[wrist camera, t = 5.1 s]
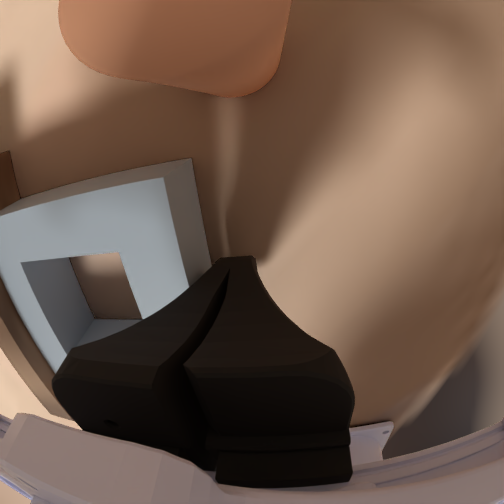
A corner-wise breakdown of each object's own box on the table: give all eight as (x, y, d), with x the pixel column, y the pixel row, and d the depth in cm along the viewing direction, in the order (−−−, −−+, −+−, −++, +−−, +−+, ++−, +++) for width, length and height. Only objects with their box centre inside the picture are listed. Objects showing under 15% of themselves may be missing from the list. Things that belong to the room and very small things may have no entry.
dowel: (286, 92, 9) (317, 56, 3) (191, 104, 9) (65, 110, 3) (274, 8, 8) (276, -120, 1) (180, 23, 8) (63, -60, 2)
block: (230, 349, 14) (222, 398, 11) (82, 344, 15) (60, 380, 12) (191, 157, 10) (163, 177, 7) (21, 198, 11) (-20, 222, 8)
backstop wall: (97, 373, 16) (73, 420, 13) (75, 369, 16) (50, 414, 13) (9, 150, 10) (-53, 174, 6) (-12, 161, 10) (-67, 186, 7)
